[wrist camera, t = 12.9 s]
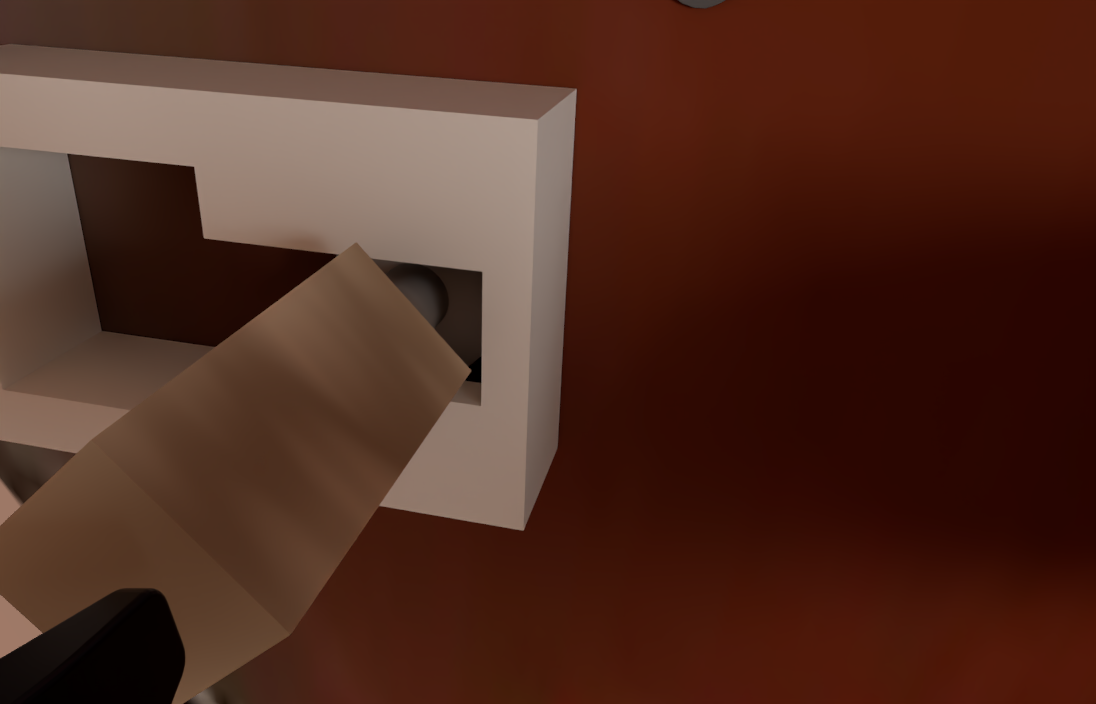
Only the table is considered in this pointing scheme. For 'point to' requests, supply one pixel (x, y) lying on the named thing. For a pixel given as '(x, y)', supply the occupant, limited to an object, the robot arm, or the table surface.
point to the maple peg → (253, 463)
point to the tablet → (701, 3)
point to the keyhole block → (296, 235)
